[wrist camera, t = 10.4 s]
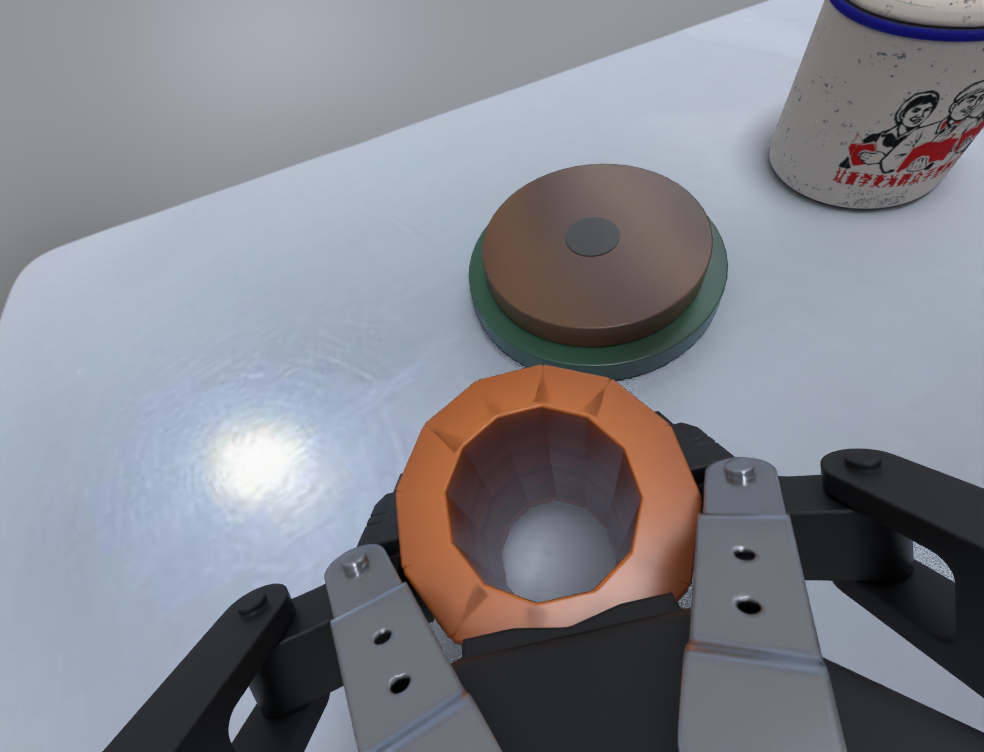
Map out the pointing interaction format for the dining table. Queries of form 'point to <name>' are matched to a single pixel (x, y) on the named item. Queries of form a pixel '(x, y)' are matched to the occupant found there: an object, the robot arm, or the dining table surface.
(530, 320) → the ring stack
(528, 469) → the orange hollow cylinder
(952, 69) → the teacup with lid
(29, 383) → the dining table surface
